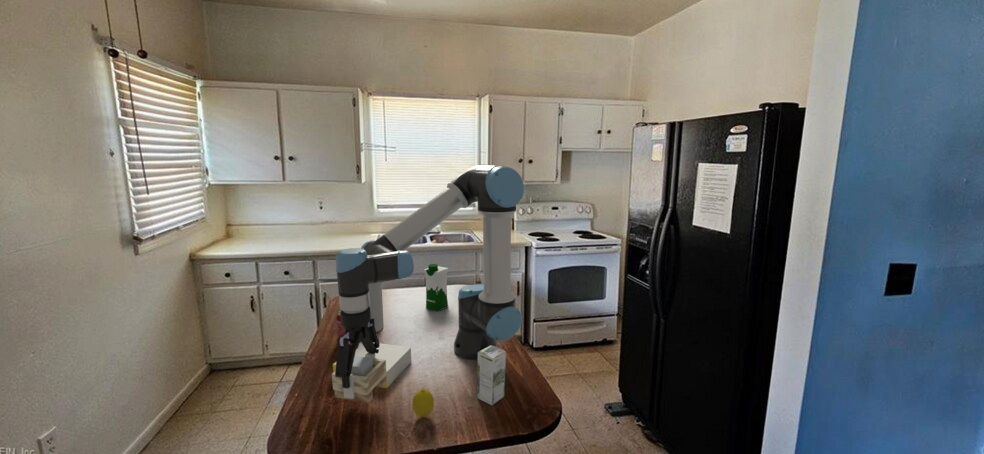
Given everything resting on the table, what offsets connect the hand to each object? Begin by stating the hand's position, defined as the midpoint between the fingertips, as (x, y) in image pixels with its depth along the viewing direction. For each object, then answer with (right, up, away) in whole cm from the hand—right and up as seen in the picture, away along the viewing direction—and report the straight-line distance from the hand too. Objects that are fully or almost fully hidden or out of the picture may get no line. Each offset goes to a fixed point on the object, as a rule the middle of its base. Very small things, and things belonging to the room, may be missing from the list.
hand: (360, 385), depth 113 cm
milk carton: (+11, +7, +73) cm, 75 cm away
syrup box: (+35, -6, +6) cm, 36 cm away
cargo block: (0, +3, -1) cm, 3 cm away
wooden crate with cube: (0, -1, 0) cm, 1 cm away
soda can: (-17, 0, +39) cm, 43 cm away
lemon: (+17, -7, -3) cm, 19 cm away
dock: (-2, -3, +21) cm, 21 cm away
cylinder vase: (-14, +3, +51) cm, 53 cm away
